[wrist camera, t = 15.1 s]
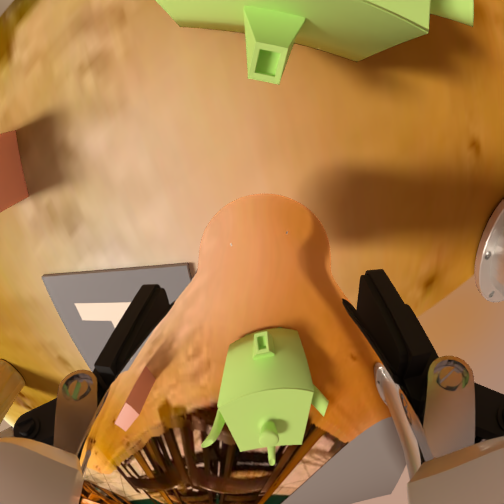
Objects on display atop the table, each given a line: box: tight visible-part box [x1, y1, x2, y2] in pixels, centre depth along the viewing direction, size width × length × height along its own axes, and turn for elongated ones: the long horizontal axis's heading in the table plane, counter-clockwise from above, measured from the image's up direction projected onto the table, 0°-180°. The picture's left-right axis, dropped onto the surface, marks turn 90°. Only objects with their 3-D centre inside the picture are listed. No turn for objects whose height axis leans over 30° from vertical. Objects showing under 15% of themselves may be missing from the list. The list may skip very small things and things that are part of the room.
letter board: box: [42, 263, 191, 372], centre depth 24 cm, size 15×15×1 cm
